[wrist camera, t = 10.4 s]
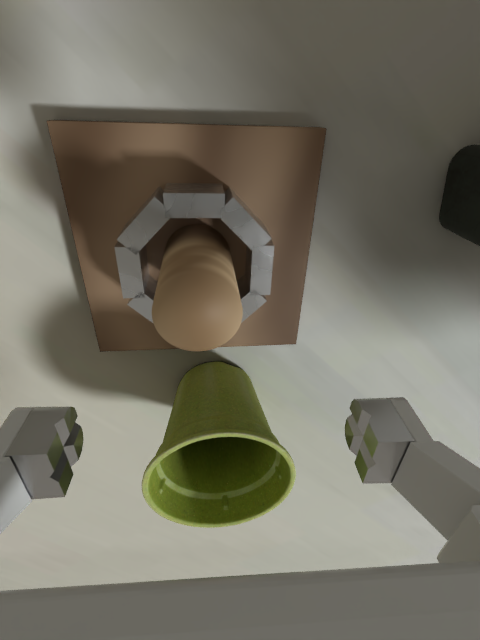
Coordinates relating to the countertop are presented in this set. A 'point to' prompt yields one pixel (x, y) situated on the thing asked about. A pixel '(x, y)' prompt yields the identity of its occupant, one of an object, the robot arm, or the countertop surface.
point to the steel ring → (193, 204)
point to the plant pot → (217, 454)
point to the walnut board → (188, 167)
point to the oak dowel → (197, 290)
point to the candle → (463, 195)
